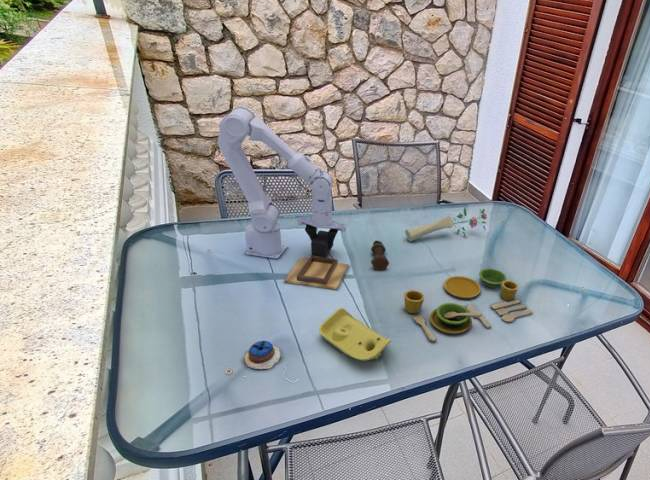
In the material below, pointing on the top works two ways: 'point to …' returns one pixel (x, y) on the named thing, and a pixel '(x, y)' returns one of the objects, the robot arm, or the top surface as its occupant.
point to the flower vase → (441, 226)
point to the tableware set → (457, 316)
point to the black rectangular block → (320, 244)
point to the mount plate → (317, 272)
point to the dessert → (262, 355)
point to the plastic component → (352, 336)
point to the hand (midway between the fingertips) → (322, 246)
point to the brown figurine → (379, 256)
